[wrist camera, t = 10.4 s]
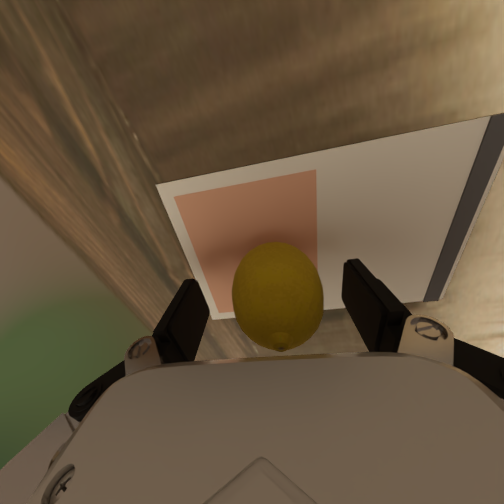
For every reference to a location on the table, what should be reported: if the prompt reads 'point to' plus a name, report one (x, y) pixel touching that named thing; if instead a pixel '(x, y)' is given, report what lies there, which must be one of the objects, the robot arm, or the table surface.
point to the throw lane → (345, 210)
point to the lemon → (277, 296)
